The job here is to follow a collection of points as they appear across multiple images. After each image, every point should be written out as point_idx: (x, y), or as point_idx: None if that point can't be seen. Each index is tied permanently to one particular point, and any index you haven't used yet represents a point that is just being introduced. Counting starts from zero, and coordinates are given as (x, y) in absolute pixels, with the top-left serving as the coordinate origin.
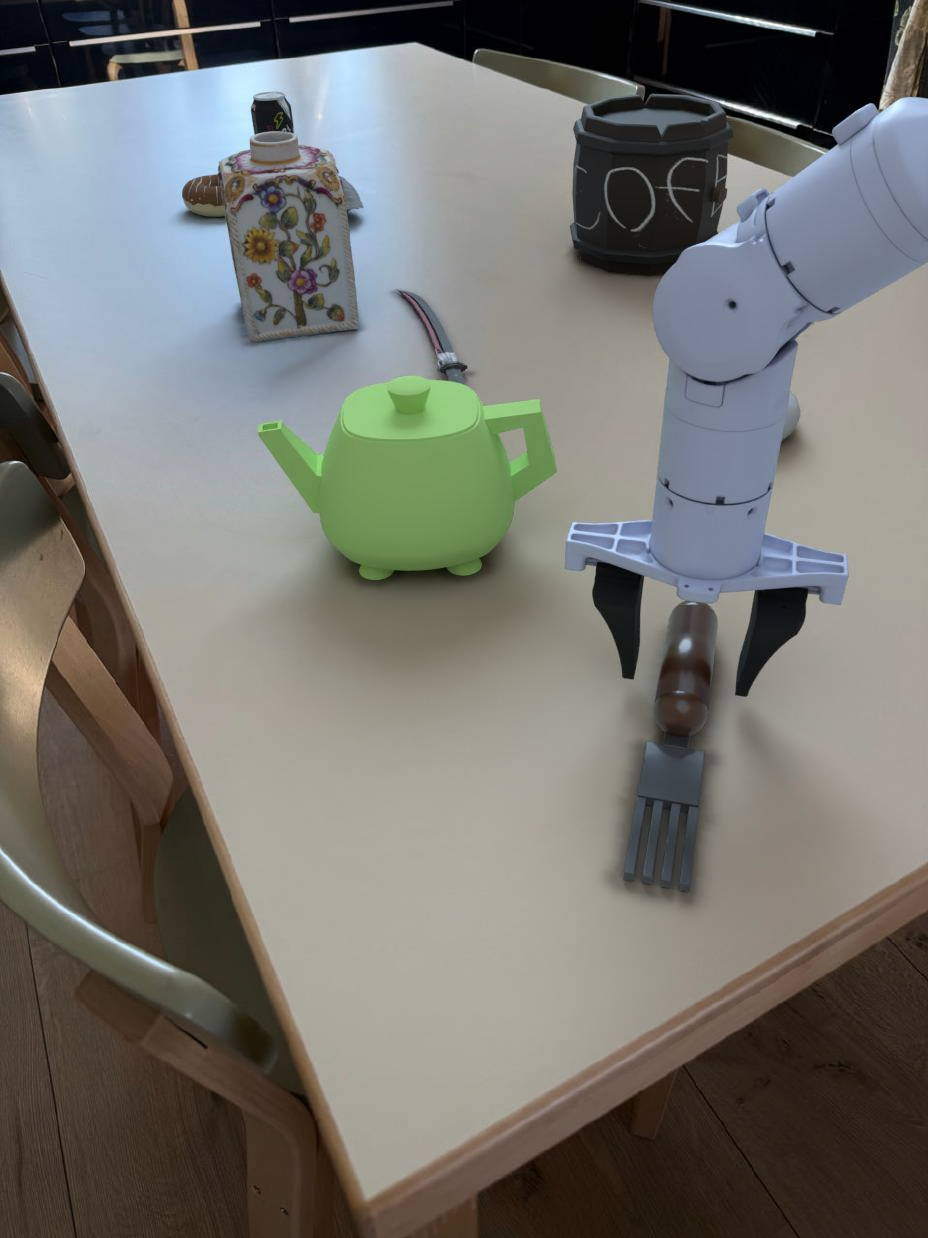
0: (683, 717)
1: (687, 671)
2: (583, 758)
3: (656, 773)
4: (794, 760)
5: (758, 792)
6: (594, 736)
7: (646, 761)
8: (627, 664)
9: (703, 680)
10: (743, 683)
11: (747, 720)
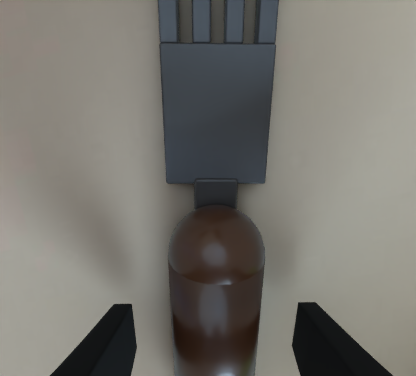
0: (211, 226)
1: (215, 336)
2: (359, 137)
3: (243, 110)
4: (37, 208)
5: (74, 128)
6: (340, 189)
7: (262, 136)
8: (333, 330)
9: (182, 321)
10: (107, 329)
11: (117, 268)
